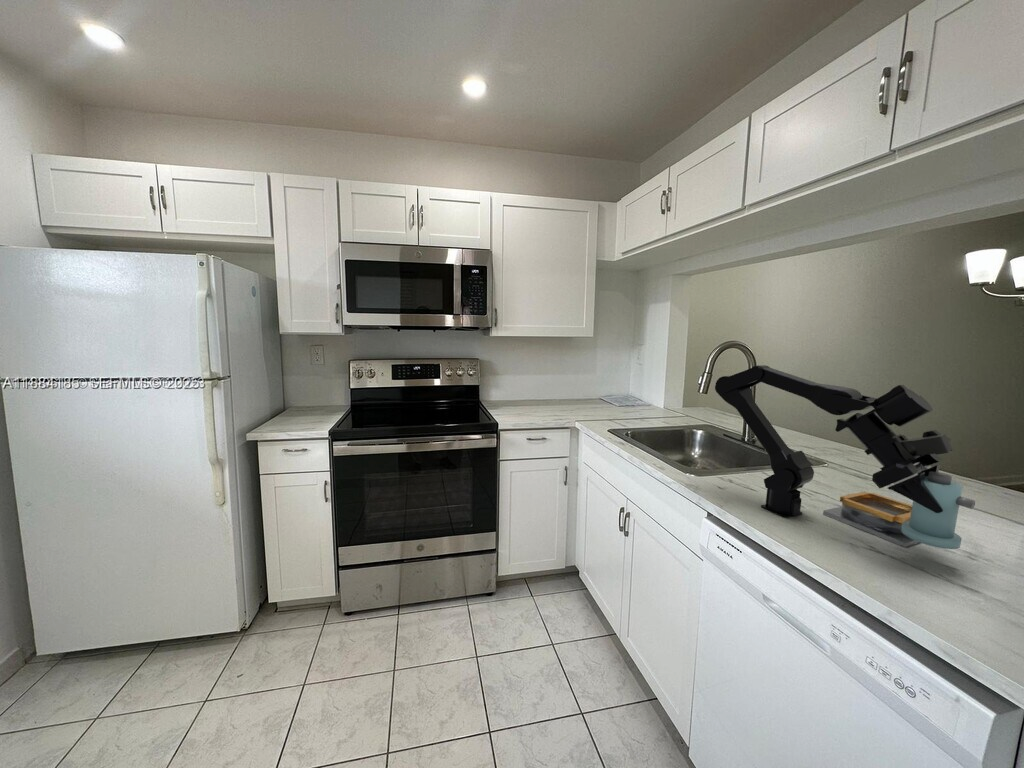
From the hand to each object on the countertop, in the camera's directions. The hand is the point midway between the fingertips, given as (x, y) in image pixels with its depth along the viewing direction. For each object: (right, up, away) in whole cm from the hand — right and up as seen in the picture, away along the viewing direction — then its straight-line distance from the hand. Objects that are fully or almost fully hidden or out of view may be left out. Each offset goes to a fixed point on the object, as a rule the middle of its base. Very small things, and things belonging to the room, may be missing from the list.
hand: (945, 508), depth 75 cm
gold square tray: (+4, -10, +18) cm, 21 cm away
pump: (-1, -6, +2) cm, 7 cm away
